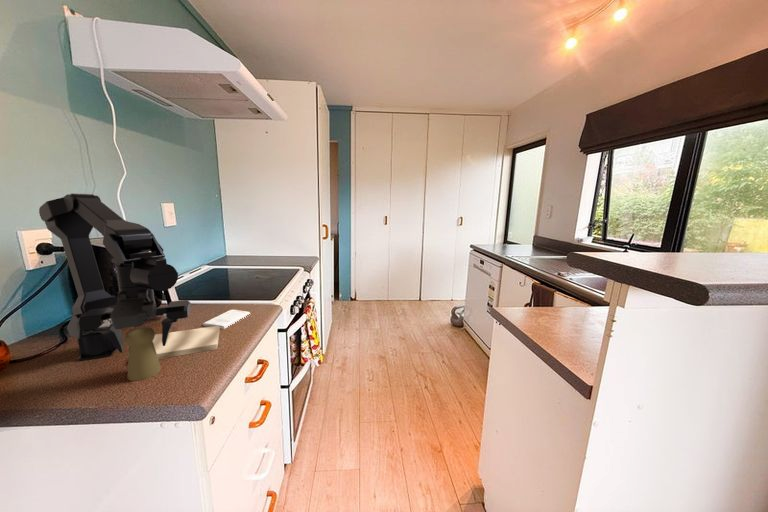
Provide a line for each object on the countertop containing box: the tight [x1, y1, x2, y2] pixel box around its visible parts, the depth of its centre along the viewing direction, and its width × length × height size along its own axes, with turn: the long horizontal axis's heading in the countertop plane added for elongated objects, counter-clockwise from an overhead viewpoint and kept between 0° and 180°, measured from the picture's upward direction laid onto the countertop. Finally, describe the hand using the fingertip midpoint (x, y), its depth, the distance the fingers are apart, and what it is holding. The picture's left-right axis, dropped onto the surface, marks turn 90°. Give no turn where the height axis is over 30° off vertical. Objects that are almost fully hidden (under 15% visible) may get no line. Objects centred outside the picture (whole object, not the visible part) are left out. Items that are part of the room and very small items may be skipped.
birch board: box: [153, 326, 221, 360], centre depth 78 cm, size 18×13×2 cm
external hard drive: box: [202, 309, 251, 330], centre depth 96 cm, size 2×8×12 cm
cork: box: [124, 326, 162, 382], centre depth 64 cm, size 6×6×11 cm
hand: (143, 348), depth 65 cm, fingers open, 7 cm apart
